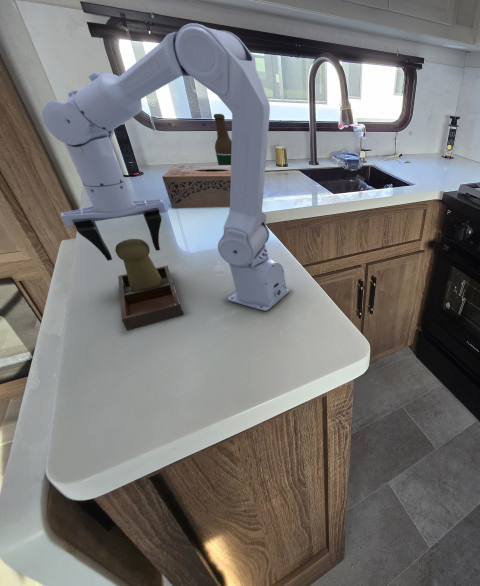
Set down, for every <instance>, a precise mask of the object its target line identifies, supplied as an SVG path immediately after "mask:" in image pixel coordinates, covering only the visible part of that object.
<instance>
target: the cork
mask: <svg viewBox="0 0 480 586" xmlns="http://www.w3.org/2000/svg"><path fill="white" fill-rule="evenodd" d="M114 251H115V253H116V256H117V257H118V258H119V259H120V260H122V261H123V263H124V268H125V272H126V274H127V276H128V280H129V284H130V286H129V288H130V292H134V291H139V290H143V289H147V288H152V287H156V286H160V285H164V284H166V283H165V281H164V280H163V279H164V278H163V279H162V278H161V276H160V274H159V273H158V271H157V269H156V268H157V267H156V266H155V264H154V262H153V260H152V259H151V257H150V247H149V244H148V243H147V242H146V241H145V240H143V239H140V238H129V239H125V240H122V241H120V242H119V243H117V244H116V246H115V249H114Z"/></svg>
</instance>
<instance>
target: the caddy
mask: <svg viewBox="0 0 480 586" xmlns="http://www.w3.org/2000/svg"><path fill="white" fill-rule="evenodd" d="M156 269H157V271H158V273H159V274H160V276H161V278H162V279H167V282H168V283H165V284H164V285H160V286H156V287H152V288H147V289H143V290H139V291H134V292H131V291H130V292H128V287H130V284H129V280H128V276H127V273H126V274H121V275H118V276H117V278H118V279H117V280H118V292H119V303H120V316H121V321H122V323H123V325H124V327H125V329H126V331H131V330H134V329H137V328H141V327H145V326H148V325H151V324H155V323H158V322H163V321H166V320H169V319H173V318H176V317H181V316H183V315H184V312H183V308H182V305H181V302H180V299H179V295H178V293H177V289H176V286H175V283H174V279H173V276H172V274H171V271H170V269H169V266H168V265H164V266H159V267H156Z"/></svg>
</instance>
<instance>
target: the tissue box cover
mask: <svg viewBox="0 0 480 586" xmlns="http://www.w3.org/2000/svg"><path fill="white" fill-rule="evenodd" d="M161 176H162V181H163V185H164V187H165V191H166V193H167V197H168V199H169V202H170V203H169V204H170V206H171V209H187V208H188V209H192V208H193V209H194V208H197V209H198V208H230V187H231V165H218V164H189V165H188V164H176V165H175V164H174V165H173V166H172V167H171V168H170V169H169V170H168V171H167V172H165V173H164V174H163V175H161Z"/></svg>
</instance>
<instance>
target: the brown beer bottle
mask: <svg viewBox="0 0 480 586" xmlns="http://www.w3.org/2000/svg"><path fill="white" fill-rule="evenodd" d="M213 118H214V121H215V128H216V136H217V137H216V140H215V143H214V144H215V145H214V150H215V156H216V161H217V165H231V146H232V138H231V137H230V135H229V132H228V127H227V123H226V120H225V119H226V116H225V115H224V114H223V113H214V114H213Z"/></svg>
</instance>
